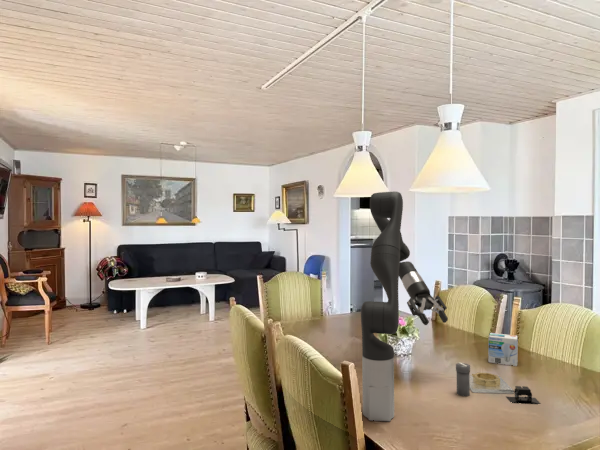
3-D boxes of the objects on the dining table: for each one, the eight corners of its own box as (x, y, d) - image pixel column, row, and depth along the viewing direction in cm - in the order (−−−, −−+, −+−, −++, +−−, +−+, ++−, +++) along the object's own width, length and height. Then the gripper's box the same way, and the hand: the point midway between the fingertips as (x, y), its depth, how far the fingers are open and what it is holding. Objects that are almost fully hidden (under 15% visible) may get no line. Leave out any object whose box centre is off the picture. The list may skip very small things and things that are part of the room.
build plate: (539, 398, 138) (539, 384, 138) (549, 408, 131) (549, 393, 131) (498, 396, 140) (498, 382, 140) (506, 406, 133) (506, 391, 133)
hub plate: (513, 393, 141) (513, 382, 141) (472, 392, 143) (472, 380, 143) (499, 379, 154) (499, 369, 154) (462, 378, 156) (462, 368, 156)
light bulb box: (488, 362, 173) (487, 336, 173) (489, 358, 179) (489, 332, 179) (517, 366, 168) (517, 339, 168) (518, 361, 174) (517, 335, 174)
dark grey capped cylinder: (473, 395, 140) (472, 365, 140) (461, 397, 139) (461, 366, 139) (464, 390, 144) (464, 361, 144) (453, 392, 143) (453, 362, 143)
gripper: (404, 281, 158) (425, 318, 147) (434, 279, 164) (457, 314, 153) (395, 293, 163) (415, 330, 152) (425, 290, 168) (446, 326, 158)
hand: (436, 322), depth 153 cm, fingers open, 8 cm apart
